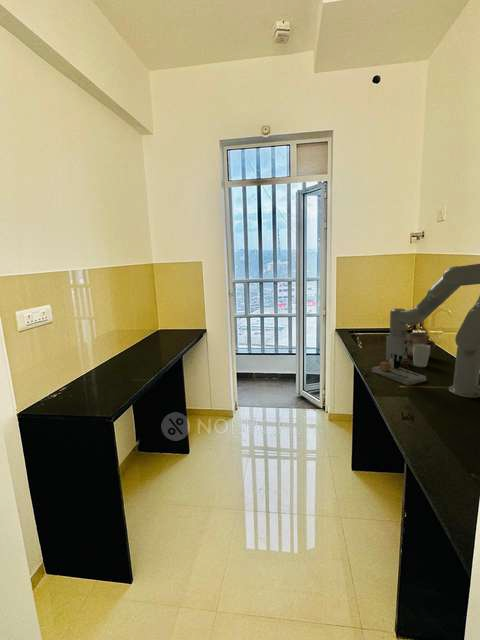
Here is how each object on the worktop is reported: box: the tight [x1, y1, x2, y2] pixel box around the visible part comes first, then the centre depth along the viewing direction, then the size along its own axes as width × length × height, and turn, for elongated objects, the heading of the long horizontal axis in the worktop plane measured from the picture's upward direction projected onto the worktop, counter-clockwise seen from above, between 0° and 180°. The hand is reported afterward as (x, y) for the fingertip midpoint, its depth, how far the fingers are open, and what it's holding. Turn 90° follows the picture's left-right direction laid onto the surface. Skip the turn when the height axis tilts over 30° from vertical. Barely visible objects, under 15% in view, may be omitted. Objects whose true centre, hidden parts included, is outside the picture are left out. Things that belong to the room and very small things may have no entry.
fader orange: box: [379, 360, 391, 371], centre depth 180 cm, size 3×4×4 cm
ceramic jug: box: [407, 332, 436, 358], centre depth 211 cm, size 18×14×14 cm
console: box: [371, 365, 427, 386], centre depth 178 cm, size 23×13×3 cm, turn 26°
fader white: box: [389, 359, 394, 368], centre depth 184 cm, size 3×4×4 cm
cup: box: [412, 344, 431, 368], centre depth 194 cm, size 9×9×12 cm
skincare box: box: [385, 335, 403, 365], centre depth 201 cm, size 8×7×16 cm
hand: (397, 367), depth 174 cm, fingers closed
